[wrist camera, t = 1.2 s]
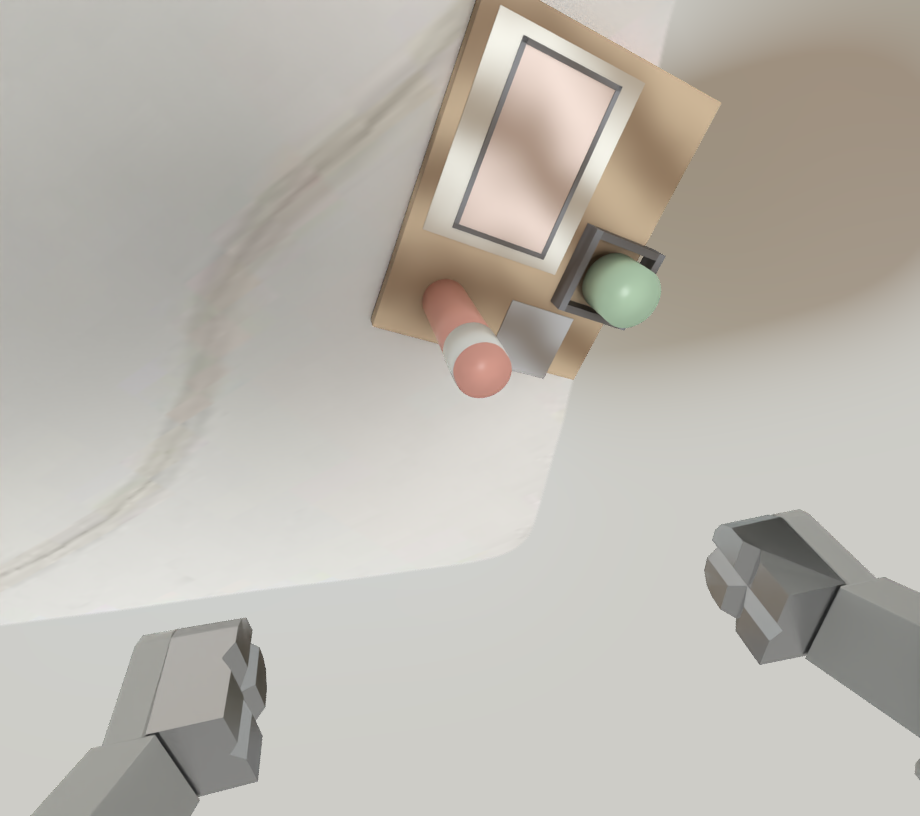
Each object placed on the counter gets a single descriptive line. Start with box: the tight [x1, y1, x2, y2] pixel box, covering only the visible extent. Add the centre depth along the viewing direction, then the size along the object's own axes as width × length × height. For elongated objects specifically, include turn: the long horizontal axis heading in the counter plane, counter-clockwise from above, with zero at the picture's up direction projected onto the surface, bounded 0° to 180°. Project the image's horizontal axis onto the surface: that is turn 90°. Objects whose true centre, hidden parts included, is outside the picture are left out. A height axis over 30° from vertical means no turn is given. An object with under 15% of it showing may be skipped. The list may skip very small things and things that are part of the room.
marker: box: [422, 279, 512, 398], centre depth 33 cm, size 3×3×10 cm
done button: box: [582, 253, 661, 328], centre depth 36 cm, size 4×4×3 cm
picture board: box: [371, 0, 721, 380], centre depth 35 cm, size 20×17×3 cm
